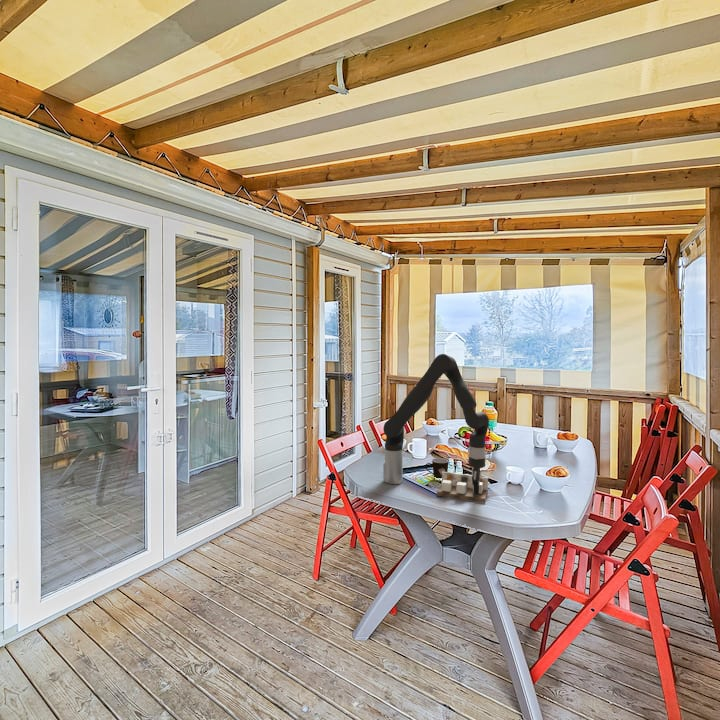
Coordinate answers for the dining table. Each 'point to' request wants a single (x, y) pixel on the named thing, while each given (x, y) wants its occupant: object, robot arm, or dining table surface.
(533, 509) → the dining table surface
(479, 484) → the switch right
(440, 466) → the coffee mug
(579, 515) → the dining table surface
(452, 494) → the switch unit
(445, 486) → the switch left
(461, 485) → the switch middle
